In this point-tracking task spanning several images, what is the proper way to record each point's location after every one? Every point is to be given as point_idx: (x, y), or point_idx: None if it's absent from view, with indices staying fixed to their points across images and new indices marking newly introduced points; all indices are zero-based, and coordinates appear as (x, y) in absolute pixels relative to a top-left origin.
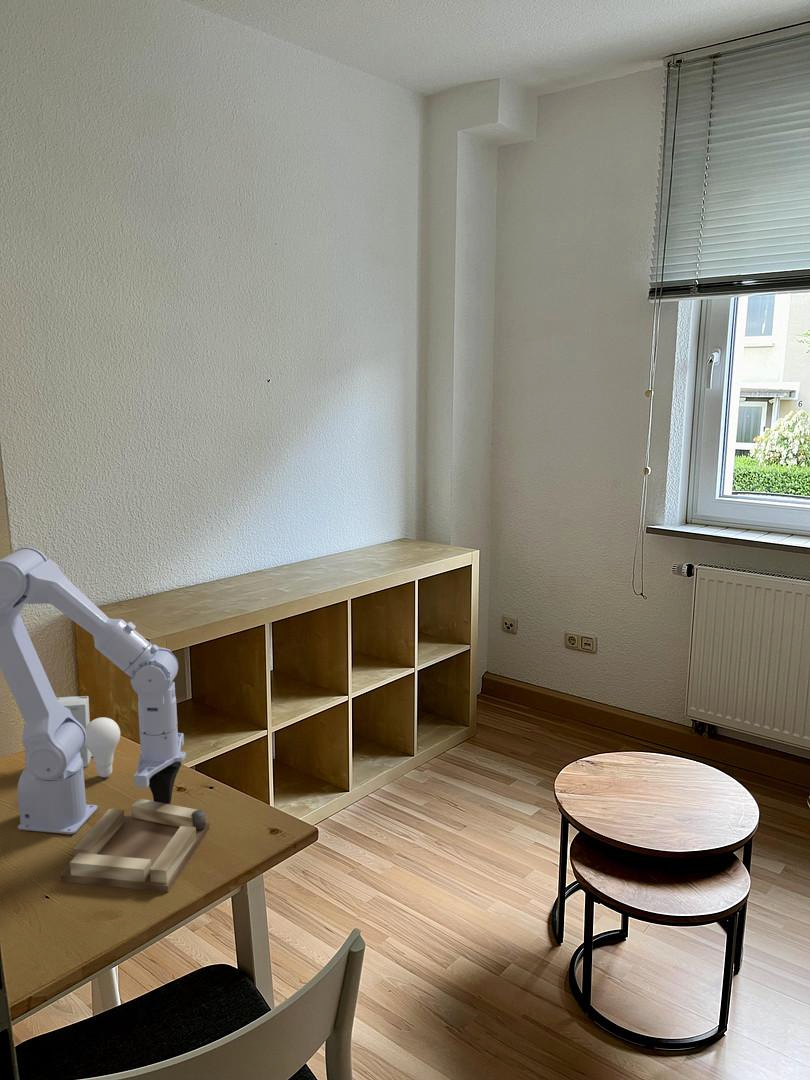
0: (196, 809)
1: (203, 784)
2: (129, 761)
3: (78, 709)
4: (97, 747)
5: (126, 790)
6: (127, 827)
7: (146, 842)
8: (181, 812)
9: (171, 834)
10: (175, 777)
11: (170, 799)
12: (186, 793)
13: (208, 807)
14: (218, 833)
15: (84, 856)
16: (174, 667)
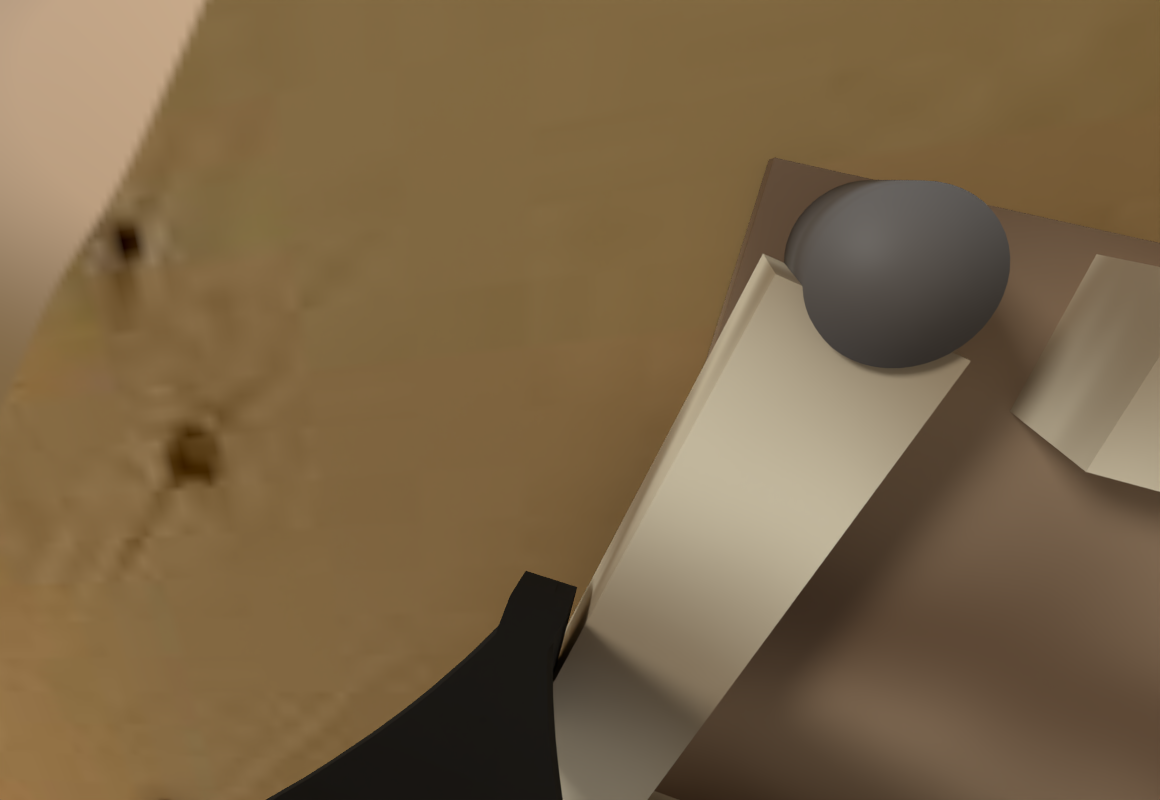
0: (749, 321)
1: (104, 310)
2: (12, 718)
3: None
4: None
5: (262, 733)
6: (729, 777)
7: (996, 675)
8: (792, 489)
9: (919, 501)
10: (347, 763)
11: (531, 608)
12: (235, 418)
13: (402, 224)
14: (874, 39)
15: None
16: None
